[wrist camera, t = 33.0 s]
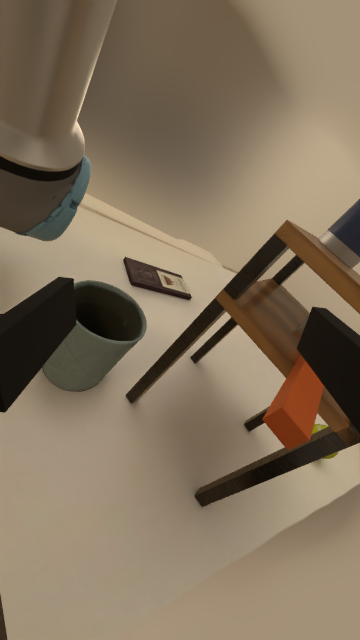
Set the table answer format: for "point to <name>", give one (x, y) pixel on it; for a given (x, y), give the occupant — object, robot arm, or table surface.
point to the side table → (269, 347)
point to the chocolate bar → (156, 279)
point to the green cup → (95, 336)
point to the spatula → (295, 404)
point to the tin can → (345, 237)
